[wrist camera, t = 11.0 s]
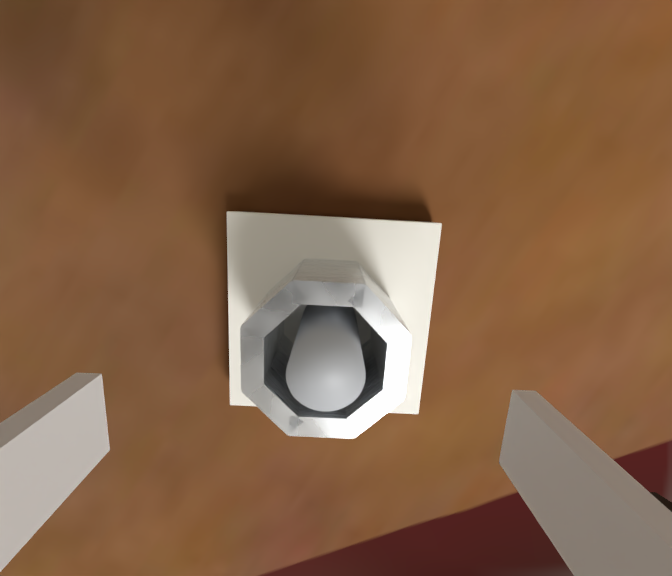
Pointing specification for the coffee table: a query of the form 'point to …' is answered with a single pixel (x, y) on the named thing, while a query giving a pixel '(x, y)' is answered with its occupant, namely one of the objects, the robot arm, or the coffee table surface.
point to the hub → (275, 348)
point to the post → (331, 321)
